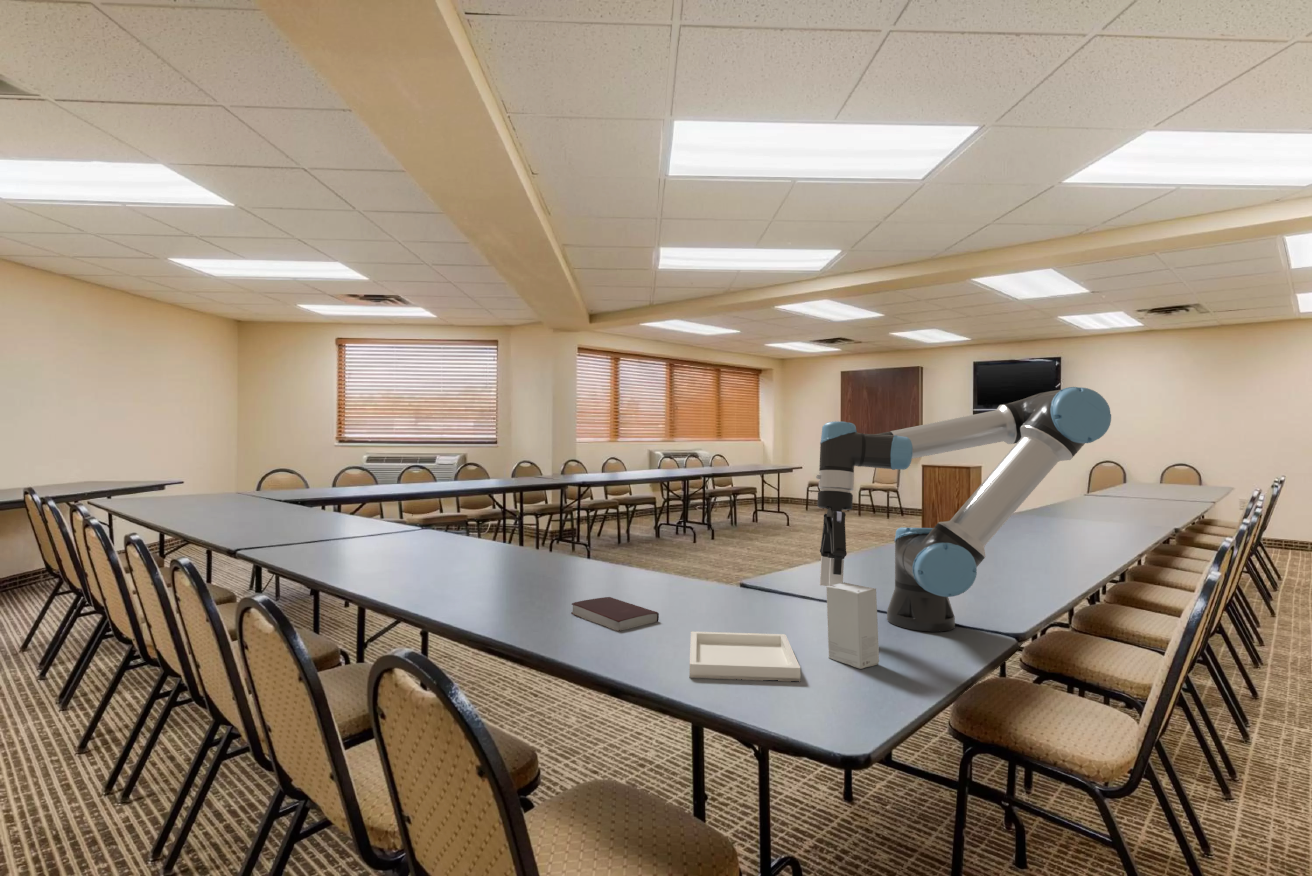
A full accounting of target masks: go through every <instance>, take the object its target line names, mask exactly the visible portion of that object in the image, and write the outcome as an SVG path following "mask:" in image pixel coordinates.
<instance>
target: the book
mask: <svg viewBox="0 0 1312 876" xmlns="http://www.w3.org/2000/svg"><path fill="white" fill-rule="evenodd" d="M571 605H572V611H571V613H570V614H571V615H573V616H576V617H579V618H582V619H585V620H587V621H590V622H593V623H596V624H598V625H601V626H604V627H606V628H609V629H611V630H614V631H615V632H622V631H624V630H628V629H632V628H637V627H641V626H645V625H649V624H652V623H657V622H659V616H660V614H659V612H658V611H655V610H652V609H648V608H645V607H643V606H639V605H635V604H633V603H630V602H627V601H624V600H620V599H617V598H614V597H611V596H605V597H604V596H603V597H597V598H589V599H584V600H580V601H573V602H572V603H571Z"/></svg>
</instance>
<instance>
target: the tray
mask: <svg viewBox="0 0 1312 876" xmlns="http://www.w3.org/2000/svg"><path fill="white" fill-rule="evenodd" d="M689 648H690V649H689V675H688V676H689V679H713V680H714V679H715V680H736V679H737V680H741V679H742V681H763V680H778V681H777V682H791V681H799V682H798V683H800V682H801V665H800V664H799V662H798V660H797V657H796V655H795V653H794V651H793V648H792V646H791V644H790V641H789V639H788V637H787V635H786V633H785V634H784V633H751V632H750V633H748V632H719V631H718V632H717V631H715V632H714V631H690V646H689Z"/></svg>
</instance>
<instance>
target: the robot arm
mask: <svg viewBox="0 0 1312 876" xmlns="http://www.w3.org/2000/svg"><path fill="white" fill-rule="evenodd" d="M1111 422H1112V414H1111V407H1110V405H1109V404H1108V402H1107V400H1106V399H1105V398H1104V396H1103V395H1102V394H1100V393H1098V392H1097V391H1095V390H1093V389H1090V388H1088V387H1082V386H1081V387H1078V386H1069V387H1064V388H1062V389H1058V390H1050V391H1045V392H1039V393H1036V394H1034V395H1031V396H1028V397H1026V398H1023V399H1020V400H1019V399H1018V400H1016V401H1013V402H1008V403H1003V404H999V405H998V407H996V409H995V410H989V411H984V412H980V413H976V414H971V415H966V416H959V417H955V418H951V419H947V420H941V421H940V420H939V421H935V422H930V423H926V424H920V425H916V426H911V427H905V428H902V429H901V428H900V429H896V430H891V431H886V432H885V431H884V432H881V433H875V434H874V433H860V432H857V426H856V425H855V423H852V422H847V421H839V420H837V421H836V420H835V421H829V422H826V423H824V424H823V425H822V427H821V435H820V442H819V445H820V447H819V449H820V451H819V469H818V471H819V472H818V473H819V474H816V476H815V478H816V480H818V488H819V491H818V492H817V503H816V504H817V505H816V506H817V507H818V508H820V509H826V510H827V511H826V512H825V513H824V514H823V520H822V521H823V526H822V533H821V541H820V549H819V553H820V556H821V557H820V571H819V573H820V575H819V586H821V587H823V586H824V587H827V586H830V585H835V584H839V583H844V569H845V567H844V566H845V565H844V564H845V557H846V556H847V542H846V540H847V538H846V537H847V535H846V516H847V515H846V511H851V510H852V509H853V499H854V497H853V494H852V491H854V481H855V467H860V468H861V467H862V468H863V467H865V468H874V469H885V470H886V469H887V470H892V471H894V470H895V471H896V470H902V471H903V470H908V468H910V466H911V463H912V459H918V458H922V457H928V456H929V457H930V456H933V455H939V454H942V453H943V454H944V453H949V452H954V451H960V450H964V449H965V450H966V449H970V448H975V447H980V446H981V447H982V446H986V445H987V446H988V445H991V444H996V443H1002V442H1003V443H1005V444H1007V445H1013V444H1014V446H1012V448H1011V449H1010V450H1009V451H1008V453H1007V454H1005V456H1004V457H1003V459H1001V461H999V463H998V464H997V466H996V467H995V468H994V469H992V471H991V473H989V475H987V477H986V478H985V479H984V480H983V482H982V483H980V484H979V486H978V487H977V488H976V490H974V492H973V493H972V494H971V496H970V497H969V498H968V499H967V500H965V502H964V504H963V505H962V506H960V508H959V509H958V510H957V512H956V513H955V514H954V515H953V516H952V517H951V518H950V520H947V521H939V522H937V523H936V525H935V526H934V527H898V528H897V529H896V530H895V535H894V536H895V537H894V590H893V592H892V596H891V599H890V601H889V604H888V606H887V609H886V621H888V623H890V624H892V625H894V626H898V627H900V628H902V629H903V628H904V629H907V630H912V631H918V632H919V631H921V632H922V631H923V632H947V631H951V630H953V629H955V628H956V627H955V626H956V616H955V613H954V610H953V608H952V604H951V602H950V598H951V597H957V596H959V595H962V594H964V593H965V592H967V591H968V590H969V589H970V588H971V587H972V586H973V585H974V583H975V581H976V578H977V575H978V573H977V570H978V569H977V568H978V566H980V564H981V563H982V562H983V561H984V559H986V550H985V547H986V546H987V544H988V543H989V542H990V541H991V540H992V538H993V537H994V536H995V535H996V534H997V533H998V532H999V530H1000V529H1001V528H1002V527H1003V526H1004V525H1005V523H1006V522H1007V521H1008V520H1009V519H1010V518H1012V516H1013V515H1014V513H1015V512H1016V511H1017V510H1018V508H1020V506H1021V505H1022V504H1023V503H1024V502H1025V500H1026V499H1028V497H1029V496H1030V495H1031V494H1032V493H1033V492H1034V491H1035V489H1036V488H1037V487H1038V486H1039V484H1041V482H1043V480H1044V479H1045V478H1046V477H1047V475H1048V474H1050V472H1051V471H1052V469H1054V467H1056V465H1057V464H1058V463H1059V462H1063V461H1071V460H1073V458H1074V457H1075V455H1076V454H1077V453H1079V451H1080V450H1081V449H1082V448H1083V447H1084V445H1085V444H1091V443H1094V442H1095V441H1097V440H1099V439H1100V438H1102V437H1104V435H1106V433H1107V432H1108V430H1109V428H1110V426H1111ZM844 511H845V512H844ZM949 597H950V598H949Z"/></svg>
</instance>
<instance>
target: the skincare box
mask: <svg viewBox="0 0 1312 876" xmlns="http://www.w3.org/2000/svg"><path fill="white" fill-rule="evenodd" d="M825 587H826V611H827V613H826V615H827V639H828V640H827V642H828V659H830V660H833V661H836V662H839V663H841V664H842V663H843V664H846V665H848V666H851V667H854V668H857V669H859V670H862V669H865V668H869V667H874V666H877V665H879V663H880V658H879V657H880V656H879V655H880V653H879V652H880V651H879V650H880V649H879V627H878V626H879V625H878V622H879V621H878V603H877V601H878V599H877V588H875V587H869V586H865V585H864V586H863V585H859V584H853V583H849V582H845V581H843V583H839V584H835V585H830V586H825Z"/></svg>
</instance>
